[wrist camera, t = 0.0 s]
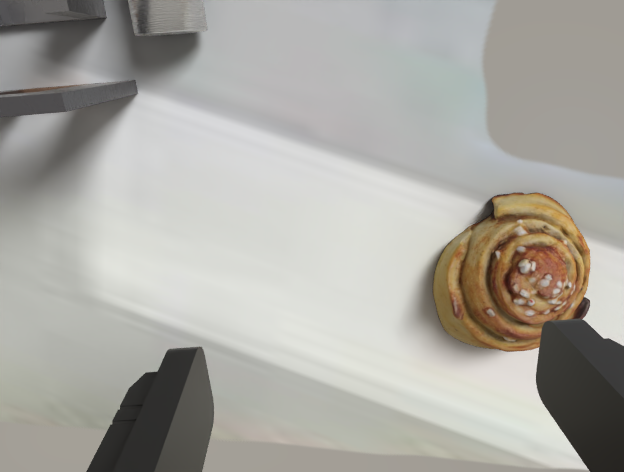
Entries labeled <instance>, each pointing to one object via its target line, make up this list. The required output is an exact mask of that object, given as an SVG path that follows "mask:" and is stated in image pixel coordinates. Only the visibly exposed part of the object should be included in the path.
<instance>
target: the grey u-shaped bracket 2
mask: <svg viewBox="0 0 624 472" xmlns="http://www.w3.org/2000/svg"><path fill="white" fill-rule="evenodd" d="M97 18H107V17H106V12H105V8H104V3H103V0H0V26H13V25H25V24H37V23H49V22H61V21H73V20H85V19H97Z"/></svg>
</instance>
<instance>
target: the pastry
mask: <svg viewBox="0 0 624 472" xmlns="http://www.w3.org/2000/svg"><path fill="white" fill-rule="evenodd" d="M492 203H493V205H494V210H493V212H492V214H491V215H490V216H489V217H487V218H486V219H484V220H483V221H481V222H478V223H476V224H474V225H471V226H469V227H468V228H467V229H466V230H465V231H463V232H462V233H461V234H459V235H458V236H457V237H456V238H454V239H453V240H452V241H451V242H450V243H449V244H448V245H447V246H446V248H445V249H444V251H443V253H442V255H441V257H440V259H439V261H438V263H437V266H436V269H435V274H434V282H433V295H434V300H435V304H436V308H437V312H438V316H439V318H440V321H441V324H442V326H443V328H444V330H445V331H446V332H447V333H448V334H450V335H451V336H452V337H454V338H456V339H458V340H460V341H462V342H465V343H467V344H470V345H473V346H476V347H483V348H489V349H499V350H502V351H507V352H511V351H525V350H532V349H535V348H538V347H540V339H541V331H542V327H543V324H544V323H545V322H546V321H554V320H567V319H583V318H584V317H585V316H586V314H587V312H588V310H589V306H590V300H589V299H587V298H585V297H584V295H585V293H586V290H587V287H588V279H589V272H590V250H589V248H588V246H587V244H586V242H585V239H584V237H583V236H582V234H581V233H580V231H579V230H578V228H577V227H576V225H575V224H574V222H573V220H572V218H571V217H570V215H569V214H568V212H567V211H566V210H565V209H564V208H563V206H562V205H560V204H559V203H558V202H557V201H555V200H554V199H552V198H551V197H549V196H546V195H543V194H540V193H530V194H523V193H512V194H503V195H497V196H494V197H493V198H492Z"/></svg>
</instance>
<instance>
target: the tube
mask: <svg viewBox="0 0 624 472" xmlns="http://www.w3.org/2000/svg"><path fill="white" fill-rule="evenodd" d="M128 4H129V9H130V14H131V19H132V25H133V30H134V35H135V36H159V35H174V34H186V33H197V32H204V31H207V24H206V17H205V10H204V3H203V0H128Z"/></svg>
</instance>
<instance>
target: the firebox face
mask: <svg viewBox="0 0 624 472" xmlns="http://www.w3.org/2000/svg"><path fill="white" fill-rule="evenodd" d="M134 94H138V92H137V87H136V82H135V80H132V81H120V82H107V83H95V84H83V85H70V86H58V87H46V88H34V89H21V90H9V91H0V117H7V116H19V115H32V114H44V113H56V112H67V111H71V110H75V109H79V108H83V107H87V106H91V105H95V104H99V103H103V102H107V101H111V100H115V99H119V98H122V97H126V96H130V95H134Z"/></svg>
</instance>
